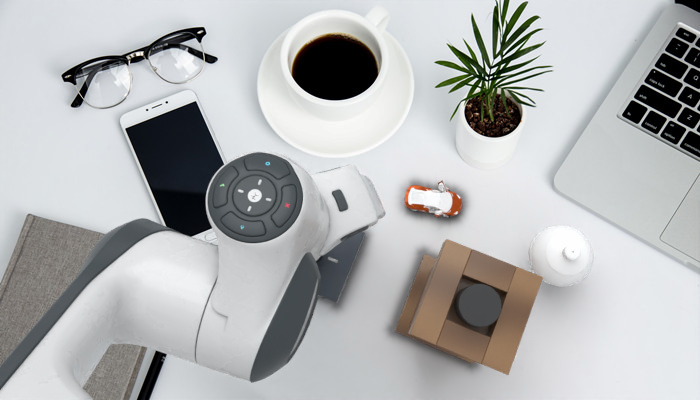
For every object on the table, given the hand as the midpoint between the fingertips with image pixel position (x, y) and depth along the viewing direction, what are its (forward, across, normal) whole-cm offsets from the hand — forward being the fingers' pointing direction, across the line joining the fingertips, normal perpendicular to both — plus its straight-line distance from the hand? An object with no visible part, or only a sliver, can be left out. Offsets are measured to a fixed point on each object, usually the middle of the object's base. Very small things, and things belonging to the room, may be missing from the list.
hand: (302, 241), depth 73 cm
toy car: (+12, +18, 0) cm, 22 cm away
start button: (-11, +14, -14) cm, 23 cm away
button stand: (+12, +14, -14) cm, 23 cm away
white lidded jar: (+12, +29, -14) cm, 34 cm away
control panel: (+12, 0, 0) cm, 12 cm away
